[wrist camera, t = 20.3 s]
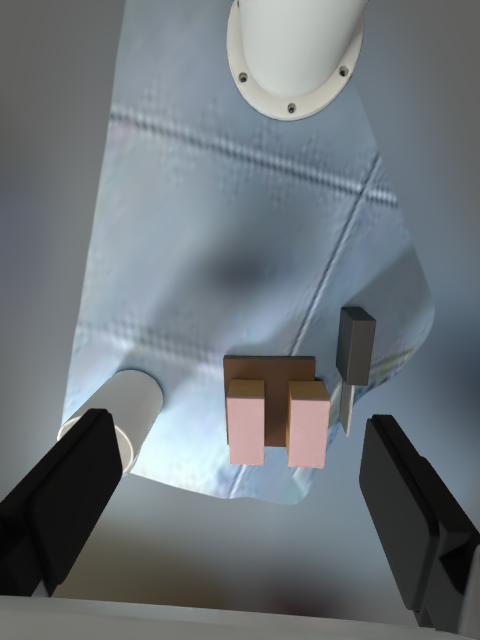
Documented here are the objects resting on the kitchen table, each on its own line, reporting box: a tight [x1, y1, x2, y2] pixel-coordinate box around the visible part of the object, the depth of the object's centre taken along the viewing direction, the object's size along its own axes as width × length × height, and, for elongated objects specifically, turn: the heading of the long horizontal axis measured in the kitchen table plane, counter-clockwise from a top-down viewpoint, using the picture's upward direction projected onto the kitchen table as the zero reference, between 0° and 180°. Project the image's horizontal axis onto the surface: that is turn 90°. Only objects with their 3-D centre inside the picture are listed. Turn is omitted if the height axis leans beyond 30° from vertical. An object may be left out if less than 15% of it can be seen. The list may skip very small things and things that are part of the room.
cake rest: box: [227, 379, 264, 465], centre depth 38 cm, size 10×4×4 cm, turn 1°
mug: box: [58, 370, 163, 476], centre depth 37 cm, size 9×12×11 cm
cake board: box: [223, 356, 316, 447], centre depth 40 cm, size 14×12×1 cm
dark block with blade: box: [336, 308, 376, 436], centre depth 35 cm, size 16×2×5 cm, turn 1°
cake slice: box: [286, 381, 331, 468], centre depth 37 cm, size 10×4×4 cm, turn 1°
